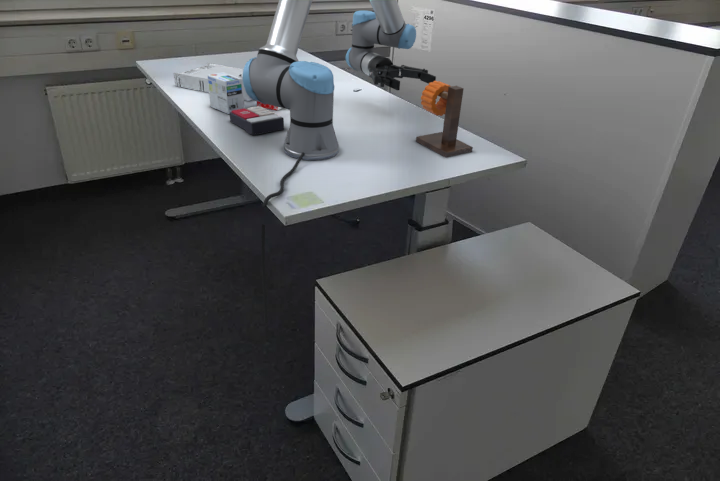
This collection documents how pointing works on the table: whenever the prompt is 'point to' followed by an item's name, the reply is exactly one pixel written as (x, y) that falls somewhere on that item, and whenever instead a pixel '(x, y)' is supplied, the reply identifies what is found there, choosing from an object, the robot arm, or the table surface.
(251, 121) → the red and black box
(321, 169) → the table surface
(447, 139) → the stand
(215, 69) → the white cardboard box
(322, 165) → the table surface
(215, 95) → the light bulb box
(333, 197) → the table surface
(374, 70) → the robot arm
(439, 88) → the tape roll
